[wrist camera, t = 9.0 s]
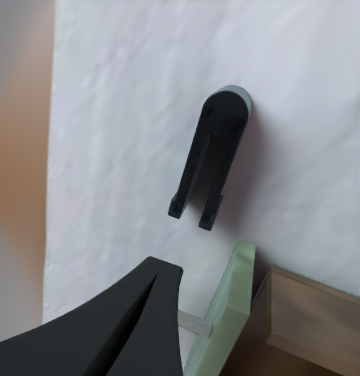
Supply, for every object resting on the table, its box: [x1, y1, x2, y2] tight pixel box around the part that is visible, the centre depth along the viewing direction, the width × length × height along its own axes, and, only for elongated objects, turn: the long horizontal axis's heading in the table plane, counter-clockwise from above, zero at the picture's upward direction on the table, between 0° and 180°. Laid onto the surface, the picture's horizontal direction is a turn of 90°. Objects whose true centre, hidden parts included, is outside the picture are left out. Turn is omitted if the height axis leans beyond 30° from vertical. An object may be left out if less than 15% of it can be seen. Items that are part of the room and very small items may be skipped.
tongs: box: [168, 85, 252, 231], centre depth 19 cm, size 8×3×3 cm, turn 164°
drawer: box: [178, 240, 360, 376], centre depth 20 cm, size 20×12×6 cm, turn 73°
